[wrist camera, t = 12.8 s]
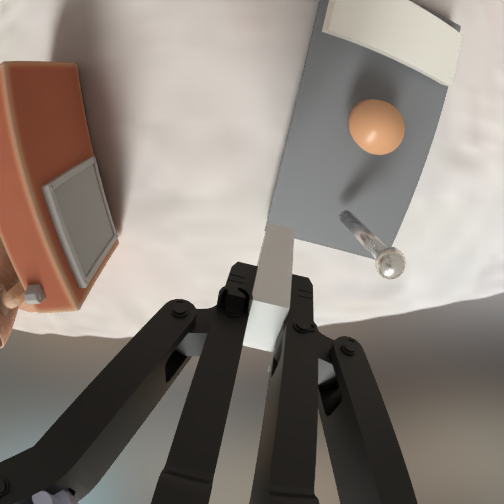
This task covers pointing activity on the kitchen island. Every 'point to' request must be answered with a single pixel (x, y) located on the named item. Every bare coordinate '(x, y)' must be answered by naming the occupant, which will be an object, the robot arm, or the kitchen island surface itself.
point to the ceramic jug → (9, 295)
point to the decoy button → (376, 126)
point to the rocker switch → (398, 34)
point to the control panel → (50, 186)
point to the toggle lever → (375, 247)
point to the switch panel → (352, 143)
